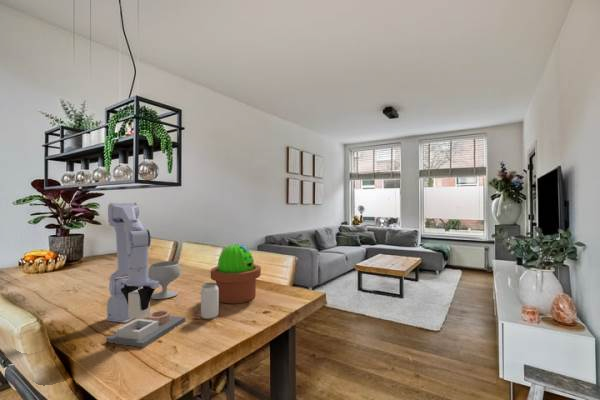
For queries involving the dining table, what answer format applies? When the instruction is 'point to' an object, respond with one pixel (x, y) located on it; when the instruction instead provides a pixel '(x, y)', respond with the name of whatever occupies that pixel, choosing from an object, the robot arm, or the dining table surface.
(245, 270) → the potted cactus
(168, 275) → the chalice
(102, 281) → the dining table surface
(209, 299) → the can
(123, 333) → the socket board
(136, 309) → the square peg
